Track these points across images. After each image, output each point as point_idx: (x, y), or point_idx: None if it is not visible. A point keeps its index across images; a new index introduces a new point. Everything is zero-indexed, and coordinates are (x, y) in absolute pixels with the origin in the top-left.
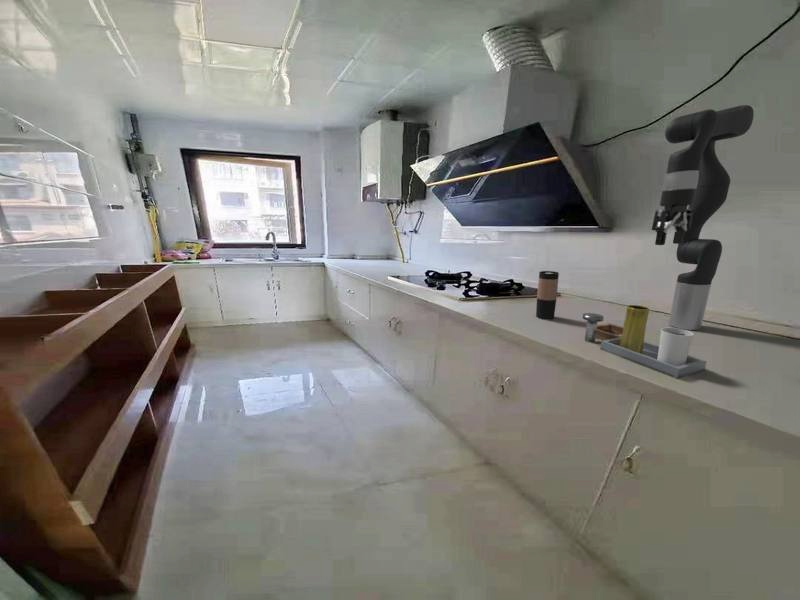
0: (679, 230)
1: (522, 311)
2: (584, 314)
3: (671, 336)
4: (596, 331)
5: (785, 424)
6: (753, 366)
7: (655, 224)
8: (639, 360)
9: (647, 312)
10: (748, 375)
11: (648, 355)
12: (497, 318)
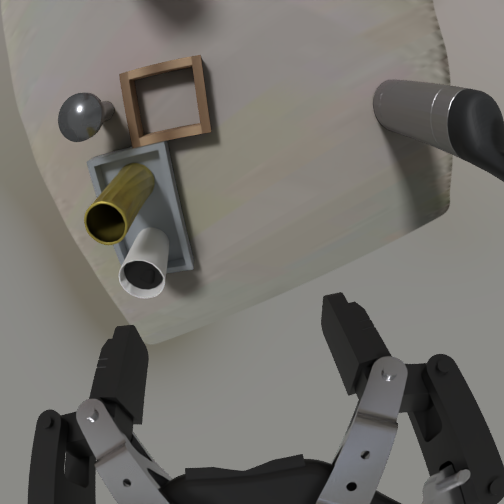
0: (361, 387)
1: None
2: (66, 105)
3: (123, 282)
4: (123, 97)
5: (154, 341)
6: (279, 263)
7: (50, 455)
8: None
9: (118, 238)
10: (236, 280)
11: (149, 207)
12: None
